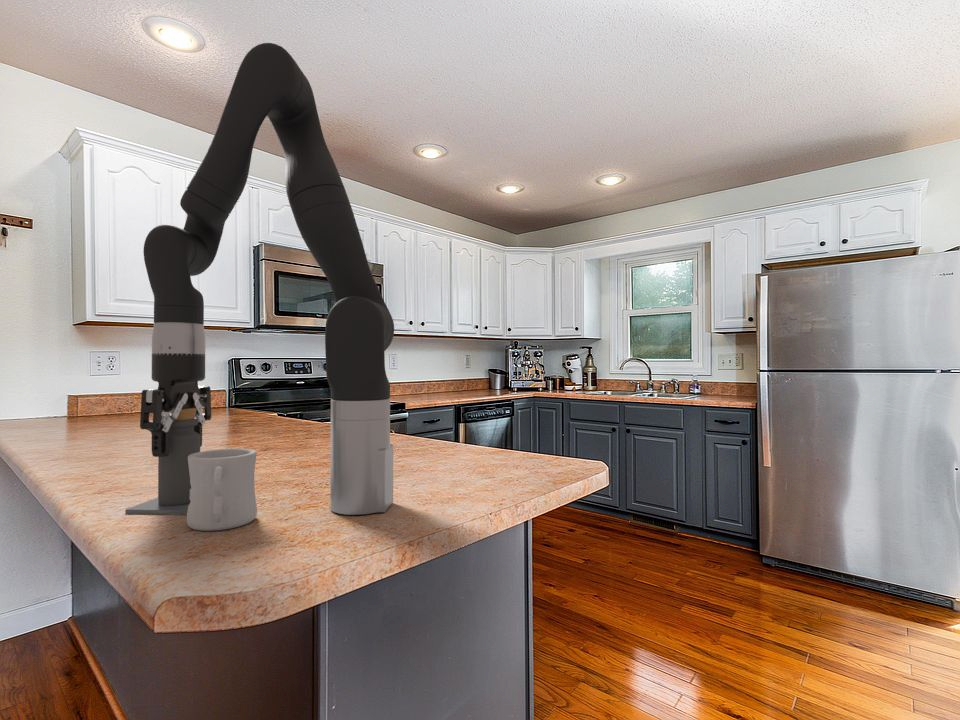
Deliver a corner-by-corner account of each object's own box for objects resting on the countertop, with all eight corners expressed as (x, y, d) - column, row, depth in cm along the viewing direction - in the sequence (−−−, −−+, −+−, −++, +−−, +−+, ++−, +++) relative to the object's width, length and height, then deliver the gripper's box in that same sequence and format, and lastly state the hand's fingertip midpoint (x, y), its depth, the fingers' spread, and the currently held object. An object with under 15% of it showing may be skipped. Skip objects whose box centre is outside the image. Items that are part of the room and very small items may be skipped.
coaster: (225, 497, 87) (225, 493, 87) (188, 514, 77) (188, 510, 77) (168, 496, 88) (168, 493, 88) (125, 513, 78) (125, 509, 78)
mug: (191, 517, 76) (191, 450, 76) (258, 510, 79) (258, 446, 79) (176, 544, 64) (176, 465, 64) (255, 535, 68) (255, 460, 68)
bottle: (181, 506, 79) (181, 410, 79) (148, 504, 80) (149, 409, 80) (208, 497, 85) (208, 407, 85) (177, 495, 86) (178, 406, 86)
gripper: (172, 350, 75) (172, 460, 75) (225, 353, 90) (225, 445, 89) (124, 350, 76) (123, 459, 76) (184, 353, 90) (183, 444, 90)
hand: (178, 451), depth 83 cm, fingers open, 8 cm apart
